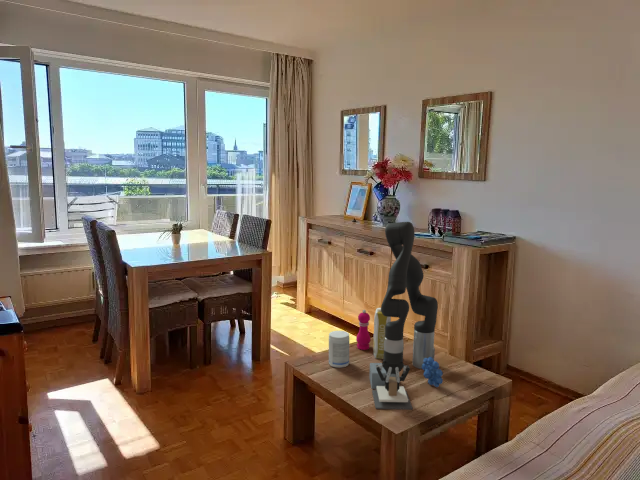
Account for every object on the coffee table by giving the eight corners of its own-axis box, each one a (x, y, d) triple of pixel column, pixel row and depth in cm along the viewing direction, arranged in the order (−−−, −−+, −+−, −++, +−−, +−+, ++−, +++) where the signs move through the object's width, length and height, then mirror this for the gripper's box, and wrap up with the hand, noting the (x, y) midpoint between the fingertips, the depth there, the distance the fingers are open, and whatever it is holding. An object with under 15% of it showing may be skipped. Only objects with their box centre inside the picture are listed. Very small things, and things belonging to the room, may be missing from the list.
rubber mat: (406, 391, 193) (406, 390, 192) (412, 409, 179) (412, 408, 179) (372, 391, 193) (372, 389, 193) (375, 408, 179) (375, 407, 179)
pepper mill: (371, 346, 240) (372, 308, 237) (368, 351, 234) (369, 312, 230) (358, 344, 243) (359, 306, 239) (354, 349, 236) (355, 311, 233)
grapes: (414, 381, 202) (415, 355, 200) (425, 378, 205) (427, 352, 203) (433, 393, 192) (435, 365, 190) (445, 389, 195) (447, 362, 193)
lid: (403, 388, 191) (404, 373, 190) (408, 402, 180) (408, 386, 179) (376, 388, 191) (376, 373, 190) (379, 401, 180) (380, 386, 179)
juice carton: (373, 351, 233) (374, 305, 229) (389, 352, 232) (391, 306, 228) (372, 359, 224) (374, 311, 220) (389, 360, 223) (391, 311, 219)
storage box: (392, 378, 204) (392, 363, 203) (395, 389, 195) (396, 373, 193) (369, 378, 205) (369, 362, 203) (371, 388, 195) (372, 373, 194)
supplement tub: (353, 364, 218) (354, 334, 216) (339, 370, 212) (339, 339, 209) (338, 357, 225) (338, 328, 223) (324, 363, 219) (324, 333, 216)
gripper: (409, 345, 186) (408, 385, 189) (374, 344, 186) (373, 385, 189) (413, 352, 178) (411, 395, 181) (376, 352, 179) (375, 394, 181)
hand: (391, 389), depth 185 cm, fingers closed on lid, 3 cm apart
